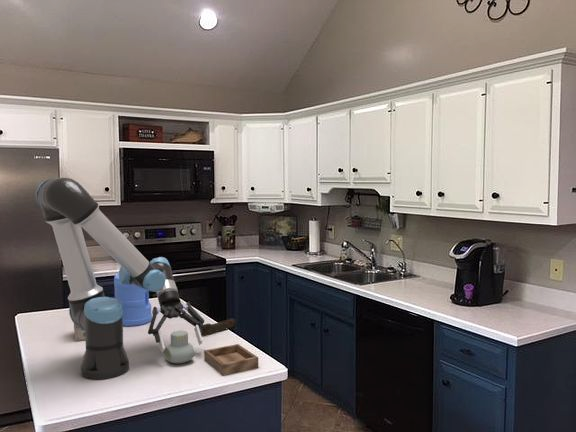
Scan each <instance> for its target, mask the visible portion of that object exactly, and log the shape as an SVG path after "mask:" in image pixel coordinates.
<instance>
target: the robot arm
mask: <svg viewBox="0 0 576 432" xmlns="http://www.w3.org/2000/svg"><path fill="white" fill-rule="evenodd" d="M35 199H36V203H37V205H38V207H39V208H41V210H42V211H41V212H42V214H43V218H44V220H45V223H46V224H49V225H50V226H52V229H53V230H52V231H53V233H54V237H55V241H56V244H57V247H58V251H59V256H60V259H61V261H62V265H63V269H64V271H65V272H64V273H65V277H66V279H67V284H68V286H69V290H70V293H69V295H68V296H67V300H68V304H69V309H68V311H69V312H68V313H69V314H68V315H69V317H70V320H71V321H72V323H73V325H74V324H75V325H77V326H78V327H80V328H81V329H82V330H84V331H85V340H84V341H85V351H84V353H83V358H82V362H81V364H80V375H81V376H82V377H83V378H85V379H90V380H105V379H110V378H114V377H118V376H122V374H125V373H127V372H128V371H129V370H130V360H129V357H128V354H127V352H126V349H125V347H124V346H125V345H124V326H123V309H122V304H121V302H120V301H119V300H118V299H115V297H111V296H110V297H109V296H105V293H104V292H105V291H104V288H103V286H100V285H98V283H97V281H96V276H95V273H94V269H93V265H92V263H91V258H90V255H89V250H88V248H87V244H86V240H85V236H84V233H83V230H84V231H85V232H86V233H87V234H88V235H89V236H90V237H91V238H92V239H93V240H94V241H95V242H96V243H97V244H98V245H99V246H100V247H101V248H102V249H103V250H104V251H105V252H106V253H108V254H109V255H110V257H112V259H113V260H115V262H117V263H118V265H119V266H120V267H119V270H118V274H119V280H120V282H121V283H122V284H128V285H130V284H134V285H137V286H139V287H141V288H144V289H146V290H147V291H149V292H153V293H154V292H155V293H156V296H157V300H158V304H159V307H156V306H153V308H152V309H151V314H152V319H151V321H150V322H149V323H150V324H149V327H148V331H147V335H152V336H153V337H154V339H155V343H156V344H159V348H160V352H161V353H163V352H164V353H165V348H166V347H165V342H164V338H163V335H162V331H161V330H160V329H161V328H162V326H163V325H164V323H165V322H166V320H167V319H169V320H170V319H175V318H178V317H179V318H180V319H183V320H185V322H187V323H189V324H190V325H192V326H193V327H194V328H193V330H194V333H195V336H196V339H197V342H198V343H197V344H198V345H199V346H201V345H202V344H203V341H204V339H203V336H201V335H202V332H203V331H202V328H201V326H202V325H204V323H205V319H204V318H203V317H202V316H201V315H200V314H199V313H198V312H197V310H195V308H194V307H193V306H192V304H191V303H190V302H189V301H187V302H186V303H184V304H183V303H182V302H181V301H182V300H181V298H180V295H179V292H178V287H177V285H176V282H175V279H174V278H175V277H174V275H173V271H172V266H171V265H170V262H169V260H168V259H167V258H166V257H163V256H159V257H155V258H152V260H150V261H149V260H148V259H147V258H146V257H145V256H144V255H143V254H142V253H141V252H140V251H139V250H138V249H137V247H136V246H134V244H133V243H132V242H131V241H129V239H128V238H127V237H126V236H125V235H124V234H123V233H122V232H121V231H120V230H119V228H117V227H116V226H115V224H113V223H112V222H111V220H110V219H109V218H108V217H107V216H106V215H105V213H103V212H102V211H101V210H100V204H99V203H98V202H97V201H96V200H95V199H94V198H93V197H92V195H91V194H89V192H88V191H87V190H86V189H85V188H84V186H82V184H80V183H79V182H78V181H77V180H75V179H73V178H69V177H51V178H47V179H46V180H44V181H43V182H41V183H40V184H39V186H37V189H36V191H35ZM186 311H187V312H186ZM159 313H161V314H162V317H161V319H160V320H159V321H158V324H157V325H156V326H155V322H156V319H157V315H159ZM154 326H155V328H154Z"/></svg>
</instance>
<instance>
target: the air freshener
mask: <svg viewBox="0 0 576 432" xmlns="http://www.w3.org/2000/svg"><path fill="white" fill-rule="evenodd" d="M195 352H196V351H195V347H194V346H193V345H192V344H191V343H189V332H187V330H181V329H180V330H174V331H172V332H171V333H170V344H168V345H167V346H166V347H165V349H164V356H165V358H166V360H167V362H169V363H172V364H185V363H186V362H187V363H188V362H190V361H191V360H192V359H193V358H194V357H195V354H196V353H195Z"/></svg>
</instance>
